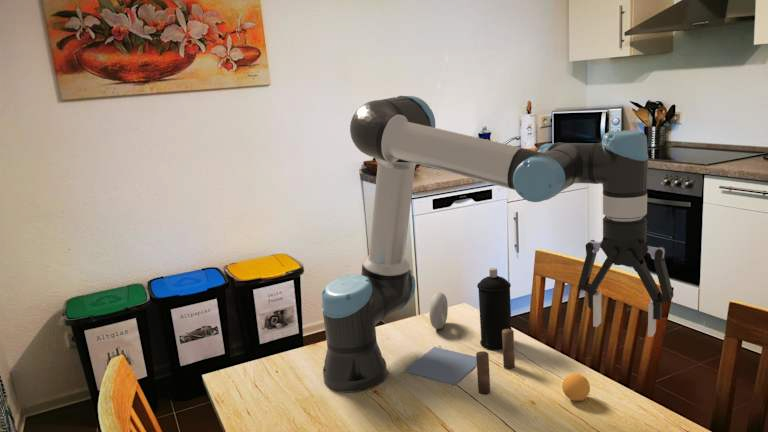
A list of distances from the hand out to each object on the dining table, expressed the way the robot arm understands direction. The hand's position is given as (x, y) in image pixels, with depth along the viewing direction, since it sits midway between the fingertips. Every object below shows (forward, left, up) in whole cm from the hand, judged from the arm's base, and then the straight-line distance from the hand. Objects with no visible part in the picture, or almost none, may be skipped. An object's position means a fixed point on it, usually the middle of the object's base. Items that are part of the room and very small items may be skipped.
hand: (623, 329), depth 117 cm
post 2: (-28, +6, -18) cm, 33 cm away
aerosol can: (-36, +16, -18) cm, 43 cm away
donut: (-54, +18, -18) cm, 59 cm away
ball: (-10, 0, -15) cm, 18 cm away
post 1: (-28, -6, -18) cm, 33 cm away
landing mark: (-42, 0, -18) cm, 45 cm away
